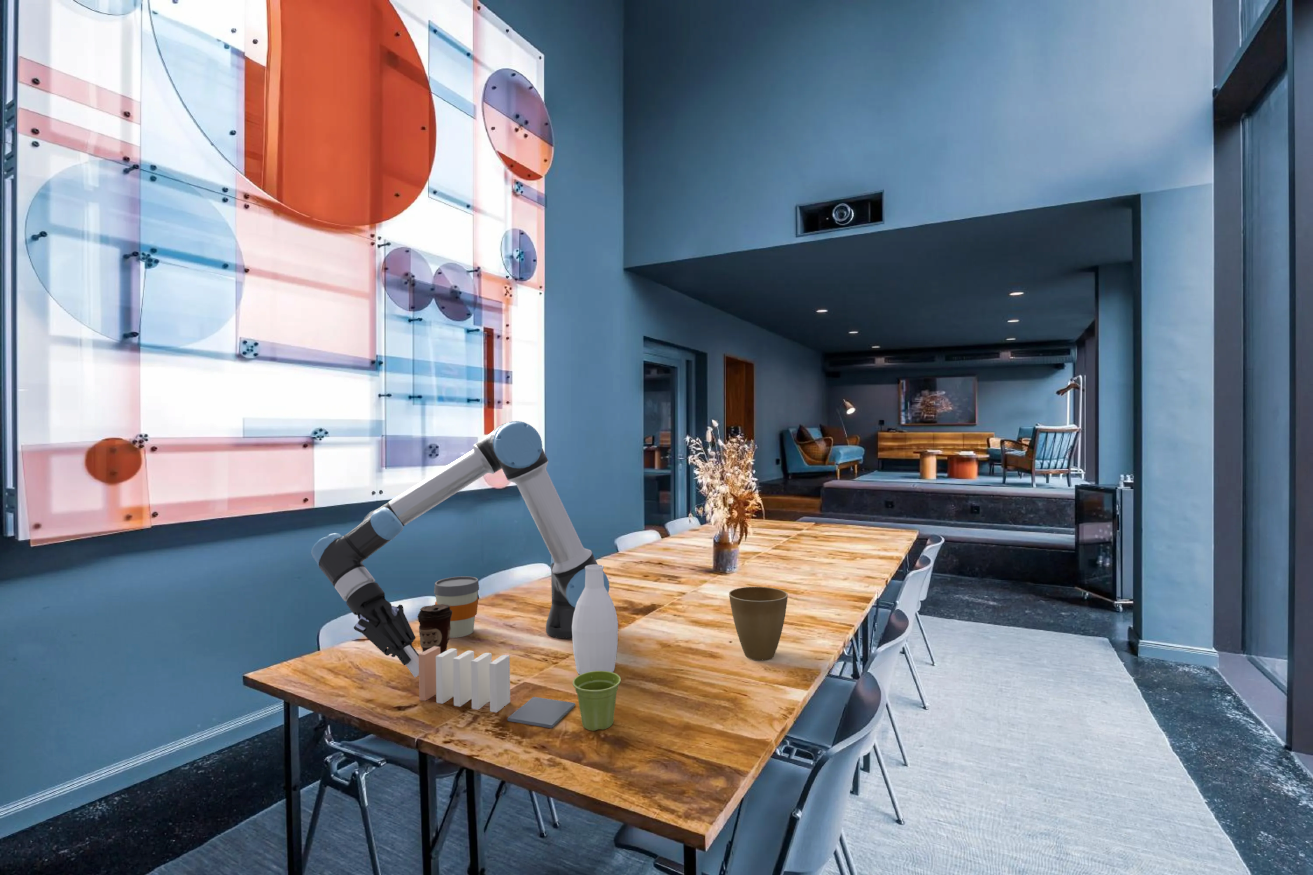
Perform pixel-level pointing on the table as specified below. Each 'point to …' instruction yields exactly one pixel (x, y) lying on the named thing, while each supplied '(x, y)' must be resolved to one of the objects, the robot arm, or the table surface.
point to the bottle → (594, 625)
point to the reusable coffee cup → (459, 602)
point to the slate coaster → (541, 712)
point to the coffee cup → (434, 626)
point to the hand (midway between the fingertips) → (420, 672)
